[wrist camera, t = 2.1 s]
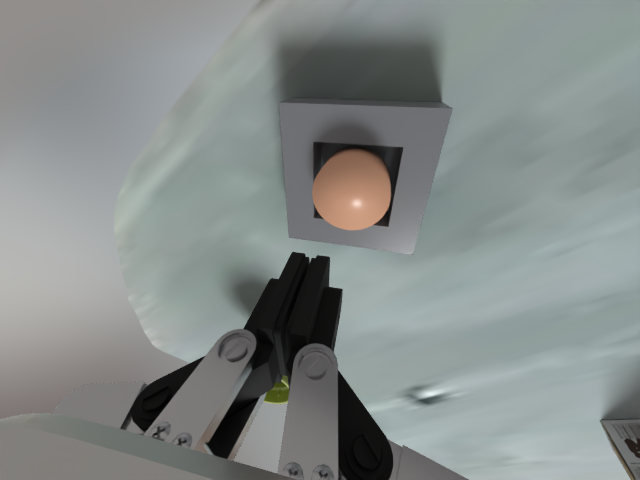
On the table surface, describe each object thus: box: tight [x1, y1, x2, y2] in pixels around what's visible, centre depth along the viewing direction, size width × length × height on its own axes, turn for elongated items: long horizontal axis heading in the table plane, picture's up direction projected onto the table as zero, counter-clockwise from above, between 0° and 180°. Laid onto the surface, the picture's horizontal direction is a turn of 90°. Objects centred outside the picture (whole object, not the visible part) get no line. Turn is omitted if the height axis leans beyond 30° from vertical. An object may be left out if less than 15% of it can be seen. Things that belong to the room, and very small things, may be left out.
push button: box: [312, 147, 391, 230], centre depth 20 cm, size 6×6×3 cm
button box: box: [279, 98, 453, 254], centre depth 22 cm, size 12×12×4 cm
